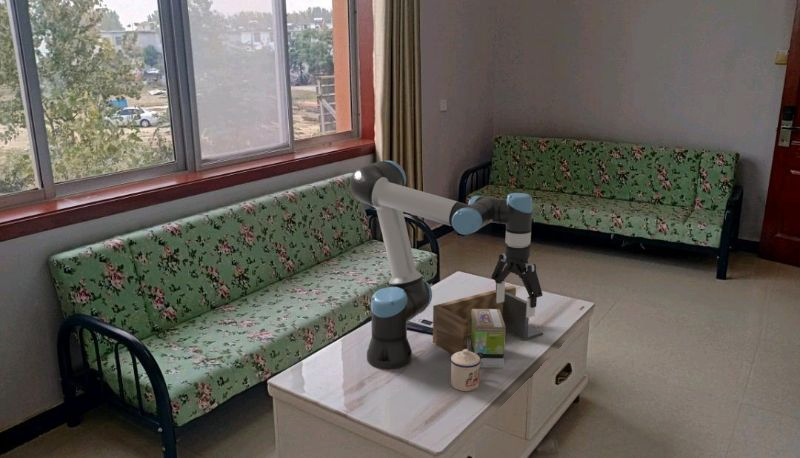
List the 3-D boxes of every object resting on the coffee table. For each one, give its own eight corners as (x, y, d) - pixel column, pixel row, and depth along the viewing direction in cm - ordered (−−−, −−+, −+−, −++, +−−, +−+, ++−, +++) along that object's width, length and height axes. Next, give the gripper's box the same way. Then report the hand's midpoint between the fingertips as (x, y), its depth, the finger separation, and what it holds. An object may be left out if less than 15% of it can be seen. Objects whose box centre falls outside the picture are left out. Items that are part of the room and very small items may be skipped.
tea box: (504, 368, 205) (506, 326, 201) (473, 368, 205) (474, 326, 201) (498, 347, 219) (500, 307, 215) (469, 347, 220) (470, 307, 216)
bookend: (524, 340, 224) (526, 303, 220) (501, 328, 234) (503, 292, 230) (543, 334, 229) (545, 298, 225) (520, 322, 238) (522, 287, 235)
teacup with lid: (468, 395, 189) (469, 360, 186) (444, 385, 195) (444, 351, 191) (490, 379, 198) (491, 346, 195) (466, 370, 204) (467, 337, 200)
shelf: (462, 362, 209) (463, 323, 205) (432, 342, 223) (433, 305, 219) (542, 336, 227) (544, 300, 223) (510, 319, 241) (512, 285, 237)
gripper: (557, 252, 184) (552, 319, 190) (499, 232, 204) (497, 294, 210) (538, 257, 180) (534, 325, 186) (481, 236, 200) (479, 299, 206)
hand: (514, 309), depth 198 cm, fingers open, 13 cm apart
